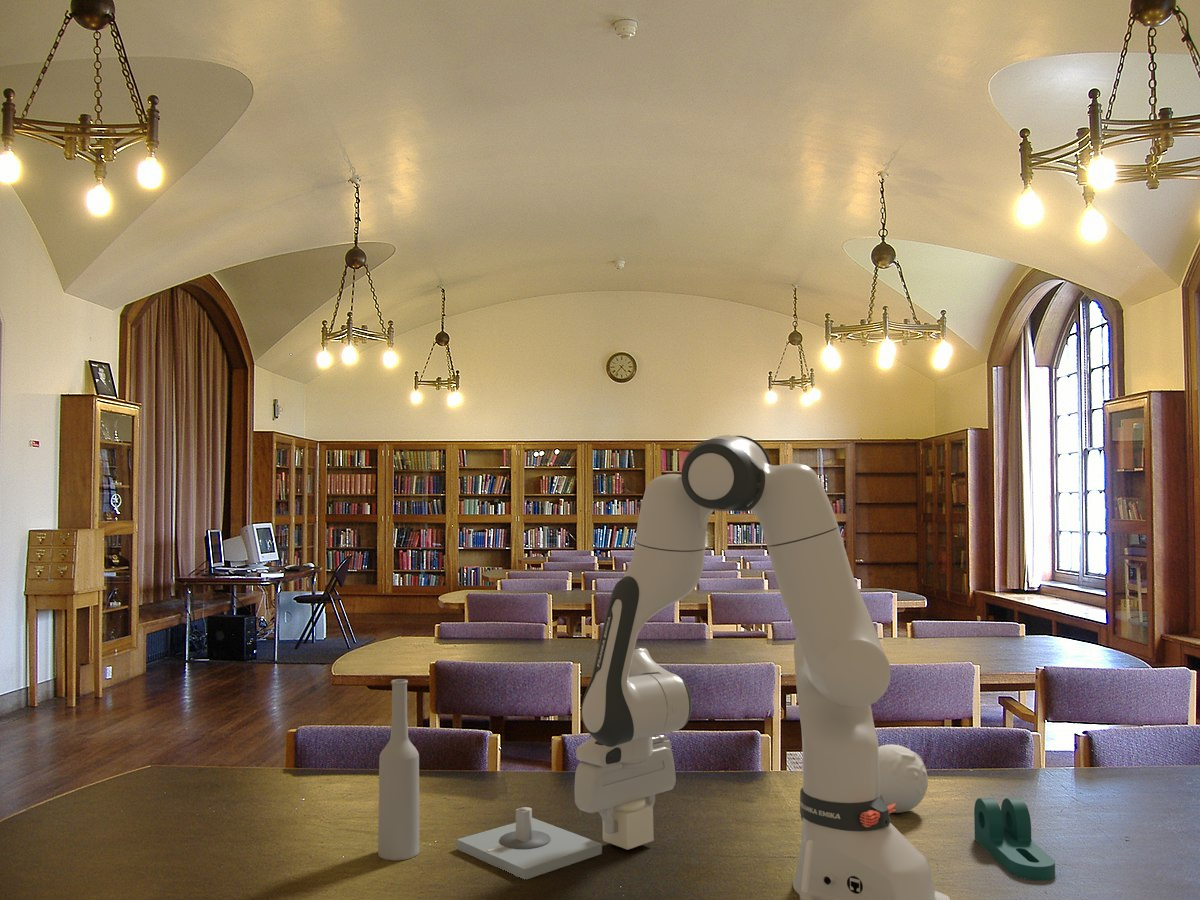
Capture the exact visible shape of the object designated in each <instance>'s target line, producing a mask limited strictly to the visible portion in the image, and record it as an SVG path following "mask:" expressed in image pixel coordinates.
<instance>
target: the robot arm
mask: <svg viewBox="0 0 1200 900" xmlns="http://www.w3.org/2000/svg"><path fill="white" fill-rule="evenodd" d="M641 500H642V501H641V505H640V508H639V515H638V519H637V526H636V527H637V528H636V532H635V533H636V534H635V535H636V536H635V544H634V550H633V554H632V556H631V557H632V558H631V560H630V563H629V565H628V568H627V569H626V571H625V573H624V575H623V577H622V578H621V579H620V580H619V581H617V582H616V583H615V585H614V587H613V589H612V591H611V594H610V597H609V598H610V599H609V602H608V605H607V608H606V613H605V617H604V622H603V625H602V630H601V635H600V640H599V644H598V647H597V652H596V657H595V660H594V661H595V662H594V665H593V666H594V667H593V669H592V674H591V677H590V680H589V682H588V685H587V688H586V690H585V693H584V695H583V698H582V701H581V702H582V703H581V710H580V714H581V720H582V724H583V727H584V728H585V730H586V731H587V733H588V734H589V735H590V736H591V738H589V739H588V740H586V741H585V742H584V743H581V744H580V745H579V746H578V747H577V748H576V749H575V750H576V751H575V757H576V759H577V760H578V761H581V762H579V763H578V765H577V766H576V769H575V775H574V803H575V805H576V806H577V808H578V810H580V811H582V812H585V813H588V814H594V813H598V814H599V815H600V817H601V819H603V821H604V824H605V832H606V833H608V834H614V833H616V832H618V822H616V821H614V820H613V818H612V816H611V814H612V813H613V807H615V806H618V805H622V804H625V803H628V802H632V801H635V800H638V799H642V798H645V804H647V805H650V806H653V807H654V806H655V802H656V795H658V794H661V793H666V792H667V791H671V790H673V789H674V787H675V785H676V783H677V782H676V769H675V768H676V767H675V761H674V760H675V759H674V757H673V756H674V755H673V752H672V742H671V740H670V739H669V738H668V737H667V736H665V735H666V734H669V733H674V732H676V731H679V730H681V729H683V728H685V727H686V725H687V724H688V722H689V720H690V718H691V716H692V715H691V714H692V710H693V698H692V693H691V689H690V687H689V686H688V683H687V682H686V681H685V679H683V677H681V676H680V675H679V674H677V673H675V672H671V671H668V670H667V669H666V668H663V667H662V666H660V665H659V664H658V663H657V662H656V661H654V659H653V658H652V656H651V655H650V652H649V650H648V649H647V648H645V647H644V646H640V645H639V646H638V645H637V639H638V636H639V634H640V632H641V630H642V628H643V627H644V625H645V624H646V623H647V622H648V621H649V620H651V618H653V617H654V616H655V615H656V614H658V613H659V612H661V611H662V610H664V609H665V608H668V607H669V606H671V605H673V604H676V603H678V602H679V601H681V600H682V599H684V598H685V597H687V596H688V595H690V593H692V591H693V590H694V589H695V588H696V587H697V586H698V585H699V583H700V579H701V577H702V574H703V570H704V564H705V552H706V542H707V538H706V537H707V532H708V531H707V530H708V524H709V520H710V517H711V515H712V514H713V512H715V511H718V512H742V513H743V512H744V513H745V512H746V513H747V512H749V511H751V512H752V513H753V514H754V515H755V517H756V518H757V520H758V522H759V525H760V527H761V530H762V534H763V538H764V541H765V545H766V549H767V551H768V552H767V553H768V555H769V558H770V562H771V565H772V568H773V573H774V575H775V579H776V582H777V586H778V589H779V593H780V596H781V599H782V601H783V603H784V605H785V608H786V610H787V613H788V615H789V617H790V620H791V623H792V625H793V627H794V631H795V634H796V637H795V641H794V644H793V657H794V658H793V659H794V669H795V670H794V671H795V673H794V674H795V684H796V685H795V686H796V694H797V695H796V696H797V704H798V712H799V713H798V714H799V721H800V722H799V723H800V728H801V742H802V743H801V744H802V745H801V746H802V748H801V749H802V757H801V758H802V787H801V788H800V791H799V814H800V819H801V822H802V823H801V838H800V848H799V854H798V855H799V856H798V861H797V865H796V871H795V874H794V878H793V881H792V888H793V889H794V891H795V893H797V894H798V895H799V900H951V898H950V896H948V895H947V894H945V893H942V892H941V891H937V890H935V883H934V877H933V871H932V869H931V868H932V867H931V865H930V863H929V861H928V858H927V857H926V856H925V855H923V854H922V853H921V852H920V851H919V850H918V848H916V847H915V846H914V845H913V844H912V843H911V842H910V841H909V840H908V839H907V838H906V837H905V836H904V835H903V834H902V833H901V832H900V831H899V830H898V829H897V828H896V827H895V825H893V824H892V823H891V817H890V816H891V815H890V814H892V813H893V812H894V811H896V809H894V810H892V808H894V807H895V806H896V804H895V803H894V804H891V805H889V806H886V804H885V802H884V800H883V797H882V795H881V794H880V792H879V754H878V747H879V738H878V735H877V734H878V733H877V731H876V728H875V723H874V717H873V711H872V706H871V705H872V704H874V703H876V702H877V701H879V700H880V699H881V698H882V697H883V696H884V695H885V693H886V692H887V690H888V687H889V685H890V683H891V682H890V681H891V667H890V663H889V660H888V657H887V655H886V653H885V651H884V648H883V646H882V643H881V639H880V638H879V635H878V633H877V630H876V628H875V625H874V622H873V620H872V618H871V617H872V616H871V615H870V612H869V610H868V608H867V606H866V603H865V600H864V599H863V596H862V594H861V592H860V589H859V588H858V586H857V582H856V580H855V577H854V574H853V571H852V567H851V565H850V561H849V557H848V555H847V550H846V547H845V543H844V540H843V538H842V534H841V531H840V527H839V524H838V521H837V518H836V514H835V512H834V510H833V506H832V504H831V502H830V498H829V497H828V495H827V491H825V488H824V486H823V484H822V481H821V479H820V478H819V477H818V475H817V473H816V471H815V470H814V469H813V468H812V467H810V466H808V465H806V464H801V463H798V462H796V463H795V462H788V463H783V464H779V465H778V464H777V465H773V464H771V459H770V457H769V455H768V452H767V451H766V449H765V448H764V447H763V446H762V445H761V444H760V443H759V442H758V441H756V440H754V439H752V438H751V437H748V436H743V435H729V434H726V435H725V434H724V435H718V436H714V437H712V438H710V439H709V438H708V439H706V440H703V441H700V442H699V443H698V444H697V445H694V447H693V448H692V449H691V450H690V451H689V452H688V454H687V455H686V457H685V459H684V460H683V464H682V467H681V473H666V474H662V475H660V476H657V477H654V479H652V480H651V481H649V483H648V484H647V486H646V487H645V490H644V494H643V498H642V499H641ZM636 645H637V646H636ZM664 734H665V735H664Z"/></svg>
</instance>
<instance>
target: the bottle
mask: <svg viewBox="0 0 1200 900" xmlns="http://www.w3.org/2000/svg"><path fill="white" fill-rule="evenodd" d="M408 683H409V681H408V679H403V678H397V679H391V681H390V684H391V689H392V690H391V725H390V737H389V738H390V739H389V740H388V742H387V743H386V745H385V746H384V748H382V750H381V751H380V753H379V758H378V759H379V761H378V762H379V763H378V765H379V767H378V815H377V816H378V819H377V820H378V821H377V824H378V826H377V836H378V837H377V843H378V844H377V849H378V850H377V855H378V857H379V858H380V859H381V860H384V861H393V862H394V861H396V862H397V861H404V860H405V861H406V860H410V859H413V858H414V857H415V858H416V856H418V855H419V854H420V753H419V751H418V750H417V748H416V746H414V744H413V743H412V741H411V740H410V738H409V730H408V729H409V726H408V725H409V724H408Z"/></svg>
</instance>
